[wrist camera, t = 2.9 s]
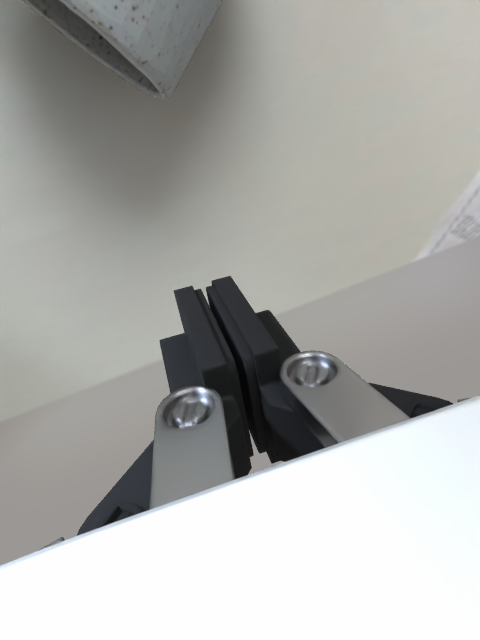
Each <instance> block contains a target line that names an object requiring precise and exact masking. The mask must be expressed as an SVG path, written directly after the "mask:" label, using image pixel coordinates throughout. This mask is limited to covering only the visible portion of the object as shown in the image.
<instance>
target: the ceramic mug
mask: <svg viewBox="0 0 480 640" xmlns="http://www.w3.org/2000/svg"><path fill="white" fill-rule="evenodd" d="M22 1H23V2H24V3H25V4H27V5H28V6H29V7H30V8H31V9H32V10H34V11H35V12H37V13H38V14H40V15H41V16H42V17H43V18H45V19H46V20H47V21H48V22H50V23H51V24H52V25H53V26H54V27H55V28H56V29H58V30H59V31H60V32H61V33H62V34H64V35H65V36H66V37H68V38H69V39H70V40H72V41H73V42H74V43H76V44H77V45H78V46H80V47H81V48H82V49H84V50H85V51H86V52H88V53H89V54H90V55H91V56H92V57H93V58H95V59H97V60H99V61H100V62H101V63H102V64H103V65H105V66H106V67H108V68H109V69H111V70H112V71H114V72H115V73H116V74H118V75H119V76H120V77H122V78H123V79H125V80H126V81H128V82H129V83H131V84H132V85H134V86H135V87H137V88H138V89H139V90H142V91H144V92H146V93H148V94H149V95H151V96H155V97H156V98H160V99H166V98H168V97H169V96H170V95H171V94H172V92H173V91H174V89H175V87H176V86H177V84H178V82H179V80H180V78H181V76H182V74H183V72H184V70H185V68H186V66H187V64H188V62H189V60H190V58H191V57H192V55H193V53H194V51H195V50H196V48H197V46H198V44H199V43H200V41H201V39H202V37H203V35H204V33H205V32H206V30H207V28H208V26H209V24H210V22H211V20H212V18H213V17H214V15H215V13H216V11H217V9H218V7H219V5H220V3H221V1H222V0H22Z"/></svg>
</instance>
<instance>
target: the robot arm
mask: <svg viewBox="0 0 480 640" xmlns="http://www.w3.org/2000/svg"><path fill="white" fill-rule="evenodd" d="M206 291H207V296H208V301H209V305H210V307H209V305H208V303H207V301H206V299H205V297H204V294H203V292H202V290H201V289H198V290H194V289H193V286H189V287H186V288H182V289H178V290H174V294H175V298H176V302H177V305H178V309H179V313H180V317H181V321H182V324H183V328H184V332H185V333H183V334H179V335H176V336H172V337H169V338H165V339H161V340H160V346H161V350H162V355H163V360H164V365H165V369H166V374H167V379H168V383H169V388H170V393H171V394H169V395H168V396H167V397H166V398H164V399H163V400H162V402H161V403H160V405H159V406H158V408H157V412H156V416H155V431H154V440H153V441H152V442H151V444H150V445H149V446H148V447H147V448H146V449H145V451H144V452H143V453H142V454H141V455H140V456H139V458H138V459H137V460H136V461H135V462H134V464H133V465H132V466H131V467H130V468H129V469H128V470H127V472H126V473H125V474H124V475H123V476H122V478H121V479H120V480H119V481H118V482H117V483H116V485H115V486H114V487H113V488H112V489H111V491H110V492H109V493H108V494H107V495H106V496H105V497H104V499H103V500H102V501H101V502H100V503H99V504H98V506H97V507H96V508H95V509H94V510H93V511H92V513H91V514H90V515H89V516H88V517H87V519H86V520H85V522H84V523H83V525H82V526H81V527H80V529H79V532H78V534H77V536H75V537H73V538H70V539H67V540H64V538H63V537H61V538H60V539H58V540H56V541H54V542H52V543H51V544H49V545H47V546H45V547H44V548H42V549H40V550H38V551H36V552H34V553H31V554H29V555H26V556H24V557H21V558H19V559H16V560H14V561H11V562H9V563H6V564H4V565H1V566H0V640H480V395H479V396H476V397H473V398H466V399H459V400H458V402H457V403H455V404H453V403H451V402H449V401H446V400H443V399H440V398H436V397H432V396H427V395H423V394H418V393H414V392H409V391H404V390H400V389H395V388H391V387H386V386H381V385H377V384H371V383H367V382H366V381H365V380H364V379H362V378H361V377H360V376H359V375H358V374H356V373H355V372H354V371H353V370H351V369H350V368H349V367H348V366H347V365H346V364H344V363H343V362H342V361H341V360H339V359H338V358H337V357H335V356H333V355H331V354H329V353H326V352H322V351H304V352H300V350H299V349H298V348H297V346H296V345H295V344H294V342H293V341H292V340H291V338H290V337H289V336H288V334H287V333H286V332H285V330H284V329H283V328H282V326H281V325H280V324H279V322H278V321H277V320H276V318H275V317H274V316H273V314H272V313H271V312H270V311H269V310H266V311H262V312H258V313H255V312H254V310H253V309H252V307H251V306H250V304H249V303H248V301H247V300H246V299H245V297H244V296H243V294H242V293H241V291H240V290H239V288H238V287H237V285H236V284H235V282H234V281H233V279H232V278H231V276H228V277H224V278H220V279H216V280H213V281H212V286H209V287H206ZM249 431H250V433H251V435H252V438H253V440H254V443H255V445H256V447H257V450H258V452H259V453H263V452H265V451H266V452H267V454H268V456H269V459H270V461H271V463H275V462H278V461H284V463H281V464H278V465H275V466H272V467H270V468H267V469H264V470H261V471H258V472H255V473H252V474H249V475H248V473H249V471H250V470H251V468H252V467H251V462H250V457H251V456H253V449H252V444H251V439H250V433H249Z"/></svg>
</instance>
